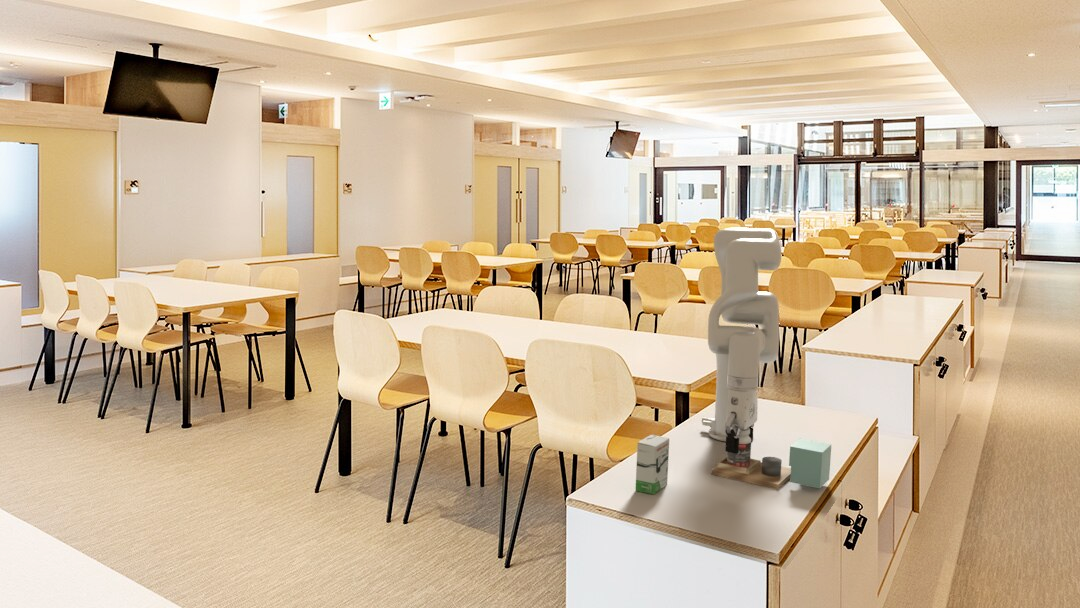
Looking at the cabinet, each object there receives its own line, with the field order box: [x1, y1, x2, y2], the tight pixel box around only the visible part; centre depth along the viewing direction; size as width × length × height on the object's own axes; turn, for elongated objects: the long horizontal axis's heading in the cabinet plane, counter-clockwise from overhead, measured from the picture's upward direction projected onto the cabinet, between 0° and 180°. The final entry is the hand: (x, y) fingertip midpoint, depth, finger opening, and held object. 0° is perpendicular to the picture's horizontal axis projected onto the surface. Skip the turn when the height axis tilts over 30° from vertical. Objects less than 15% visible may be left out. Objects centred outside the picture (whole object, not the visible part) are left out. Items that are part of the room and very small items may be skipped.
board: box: [710, 455, 791, 490], centre depth 209 cm, size 17×13×5 cm
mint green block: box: [788, 438, 832, 489], centre depth 201 cm, size 8×8×9 cm
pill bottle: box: [726, 428, 752, 468], centre depth 211 cm, size 6×6×10 cm
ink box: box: [635, 434, 670, 495], centre depth 198 cm, size 9×5×12 cm, turn 148°
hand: (739, 447), depth 211 cm, fingers open, 9 cm apart
